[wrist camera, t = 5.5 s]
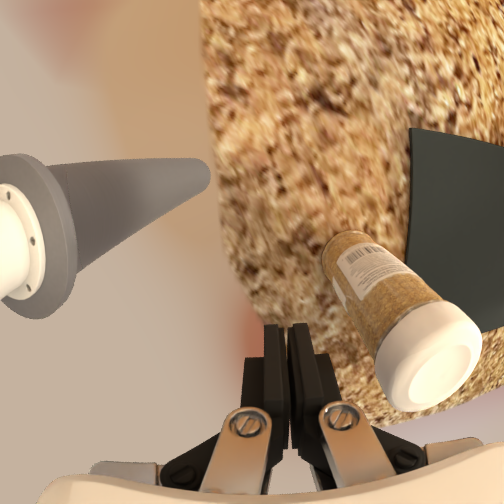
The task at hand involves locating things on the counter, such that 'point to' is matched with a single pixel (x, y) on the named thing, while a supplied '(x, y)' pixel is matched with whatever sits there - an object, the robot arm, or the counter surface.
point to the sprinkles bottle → (402, 323)
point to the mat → (458, 222)
